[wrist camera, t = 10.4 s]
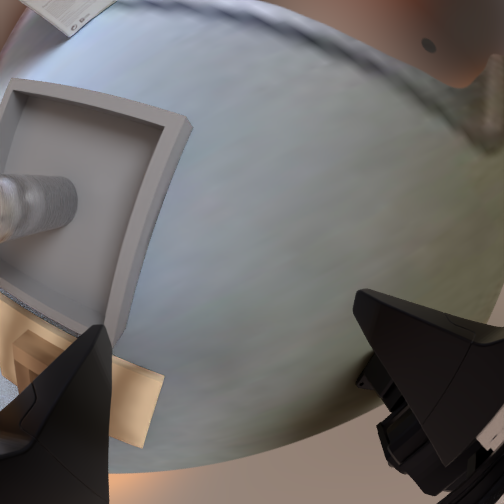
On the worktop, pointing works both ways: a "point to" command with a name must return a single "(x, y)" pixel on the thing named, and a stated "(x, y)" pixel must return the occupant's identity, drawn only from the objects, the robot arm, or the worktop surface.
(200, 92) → the worktop surface
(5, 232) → the pin
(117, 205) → the tray
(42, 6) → the skincare box
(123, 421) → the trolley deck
